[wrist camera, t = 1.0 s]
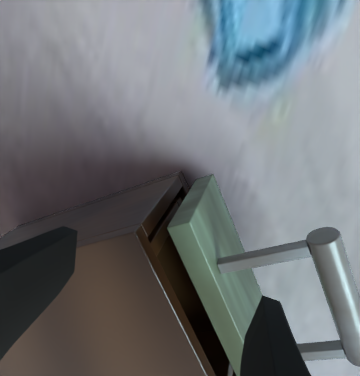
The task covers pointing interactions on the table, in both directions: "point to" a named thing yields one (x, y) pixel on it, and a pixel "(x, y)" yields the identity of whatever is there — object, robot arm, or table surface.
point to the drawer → (244, 278)
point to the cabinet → (111, 296)
